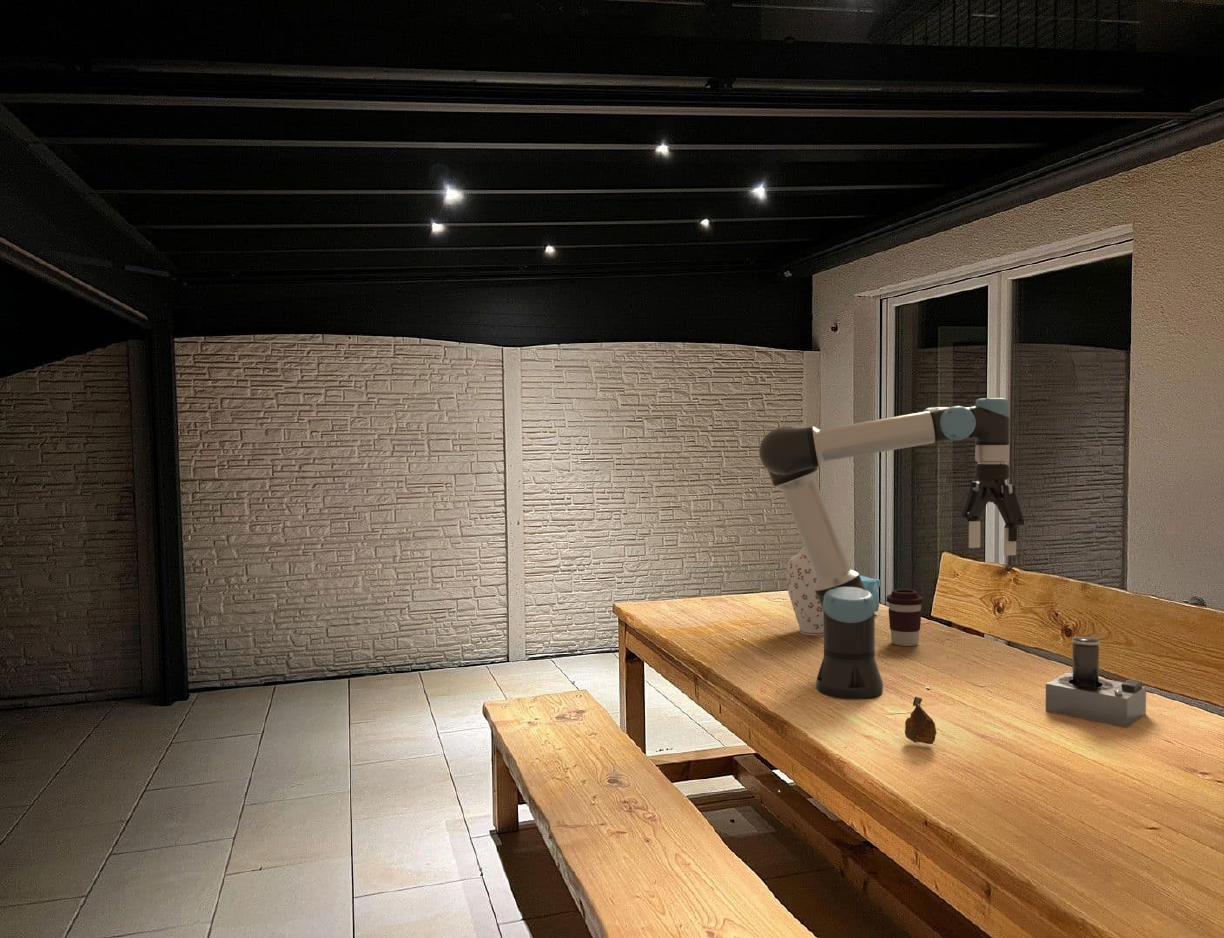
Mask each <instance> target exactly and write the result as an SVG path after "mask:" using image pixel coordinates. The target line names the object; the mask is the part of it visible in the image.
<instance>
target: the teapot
mask: <svg viewBox="0 0 1224 938" xmlns="http://www.w3.org/2000/svg"><path fill="white" fill-rule="evenodd" d="M860 578H861V580H862V583H863V585H864V588H865V590H867V591H869V592H870V593H871V594H872V595H873V597H874V602H875V613H876V612H879V608H880V598H879V588H880V587H881V580H880V579H878V578H872V577H867V576H864V575H860Z"/></svg>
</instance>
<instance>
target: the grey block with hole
mask: <svg viewBox="0 0 1224 938" xmlns="http://www.w3.org/2000/svg"><path fill="white" fill-rule="evenodd" d="M1045 712H1048V713H1054V714H1058V715H1063V716H1068V717H1072V718H1078V719H1083V720H1087V721H1092V722H1097V723H1102V724H1105V725H1112V726H1116V727H1121V728H1126V729H1127V728H1129V727H1131V725H1133V724H1135V723H1136V722H1137V721H1138V720H1140V719H1141V718H1143V717H1144V716H1146V715H1147V713H1146V712H1147V686H1146V685H1143V681H1142V680H1136V679H1131V678H1130V679H1127V680H1126V681H1123V682H1122V681H1118V680H1113V679H1112V680H1111V679H1105V678H1101V677H1099V687H1095V688H1091V687H1081V686H1076V685H1073V672H1072V673H1071V672H1066V673H1064V674H1061V675H1059V676H1058V677H1055V678H1054V679H1052V680H1050V681H1047V682H1046V683H1045Z"/></svg>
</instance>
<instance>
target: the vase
mask: <svg viewBox="0 0 1224 938" xmlns="http://www.w3.org/2000/svg"><path fill="white" fill-rule="evenodd" d="M786 567H787V568H786V573H785V574H786V584H787V592H788V595H789V599H790V601H791V605H792V608H793V611H794V615H795V617H796V620H797V624H798V628H799V633H801V634H803V635H806V636H824V613H823V610H822V608H821V605H820V602H819V600H818V597H817V595H816V592H815V590H814V587H815V585H816V583H817V578H816V575H815V573H814V570H813V568H812V565H811V563H810V560H809V558H808V555H807V553H806V550H805V547H804V545H803V544H802V548H801V550H800V551H799V552H798V553H796V554H795V555H793V556H792V557H790V559H788V562H787V566H786Z"/></svg>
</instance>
